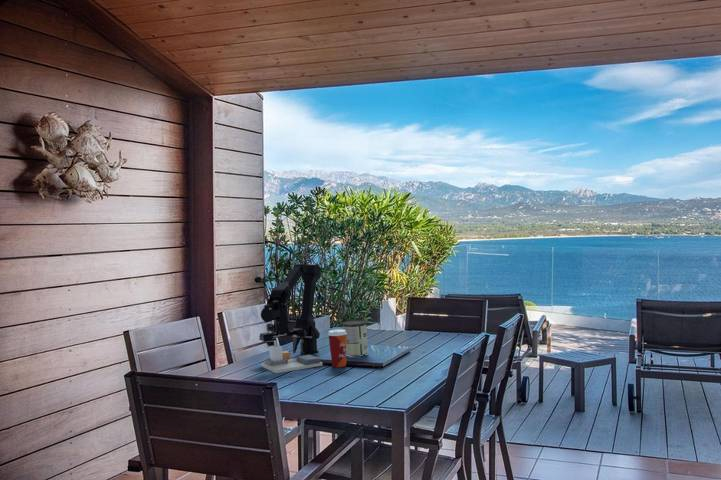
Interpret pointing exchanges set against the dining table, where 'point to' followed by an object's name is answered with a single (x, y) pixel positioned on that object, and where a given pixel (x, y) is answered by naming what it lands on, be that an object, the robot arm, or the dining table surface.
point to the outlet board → (286, 365)
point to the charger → (275, 353)
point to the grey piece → (308, 359)
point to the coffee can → (356, 337)
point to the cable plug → (286, 354)
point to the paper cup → (338, 347)
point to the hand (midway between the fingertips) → (283, 355)
